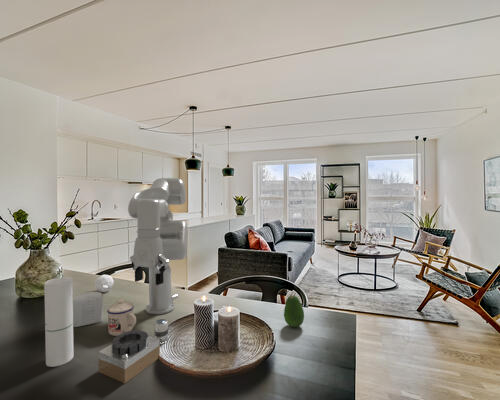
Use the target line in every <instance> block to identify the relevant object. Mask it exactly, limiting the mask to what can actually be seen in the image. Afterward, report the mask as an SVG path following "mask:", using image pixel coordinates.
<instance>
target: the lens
mask: <svg viewBox="0 0 500 400" xmlns="http://www.w3.org/2000/svg"><path fill="white" fill-rule="evenodd" d="M154 338H157V339H160V342H161V343H162V342H165V341H167V340H168V341H169V321H168V319H167V318H159V319H157V320H155V321H154Z"/></svg>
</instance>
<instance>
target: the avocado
mask: <svg viewBox="0 0 500 400" xmlns="http://www.w3.org/2000/svg"><path fill="white" fill-rule="evenodd" d="M283 317H284V321H285V323H286V324H287V325H288V326H289V327H291V328H298V327H301V325H303V323H304V320H305V319H304V318H305V310H304V308H303V305H302V303H301V301H300V299H299V297H298V296H295V295H290V296H288V297H287V299H286V303H285V306H284V309H283Z"/></svg>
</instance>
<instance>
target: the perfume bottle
mask: <svg viewBox="0 0 500 400" xmlns="http://www.w3.org/2000/svg"><path fill="white" fill-rule="evenodd" d="M114 282H115V281H114V279H113V277H112V276H110V275H109V274H102V275H100V276H98V277H97V278H96V279H95V281H94V284H93V285H94V287H95V290H97V292H101V293H102V292H103V293H107V292H108V291H110V290H111V289H112V287H114Z"/></svg>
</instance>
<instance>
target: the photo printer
mask: <svg viewBox="0 0 500 400" xmlns="http://www.w3.org/2000/svg"><path fill="white" fill-rule="evenodd" d="M103 307H104V298H103V294H102V292H100V291H89V292H84V293H80V294H77V295H75V296H74V298H73V328H77V327H82V326H87V325H92V324H97V323H101V322H102V321H103V319H104V311H103V310H104V308H103Z"/></svg>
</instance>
